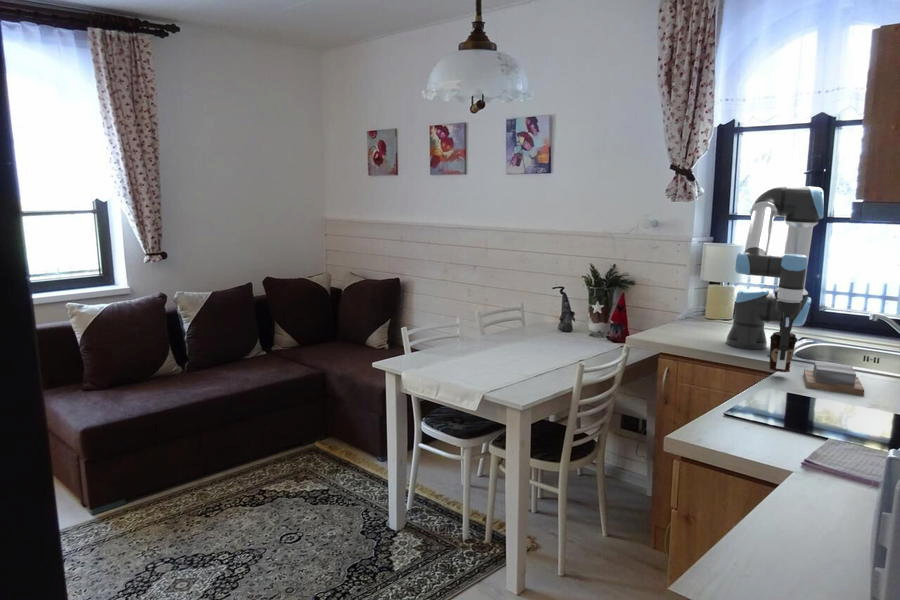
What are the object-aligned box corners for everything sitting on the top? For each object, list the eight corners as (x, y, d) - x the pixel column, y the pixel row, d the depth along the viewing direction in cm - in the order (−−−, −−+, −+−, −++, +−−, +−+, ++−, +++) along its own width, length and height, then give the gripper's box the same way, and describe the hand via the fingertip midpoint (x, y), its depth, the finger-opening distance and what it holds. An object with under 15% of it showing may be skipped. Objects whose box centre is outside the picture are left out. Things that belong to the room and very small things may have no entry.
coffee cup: (796, 375, 217) (802, 337, 215) (769, 373, 219) (775, 335, 216) (788, 367, 226) (793, 331, 223) (763, 365, 227) (768, 329, 224)
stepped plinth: (803, 374, 226) (805, 358, 225) (856, 382, 220) (859, 365, 218) (806, 387, 212) (809, 369, 211) (863, 396, 205) (866, 377, 204)
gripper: (776, 294, 228) (767, 356, 233) (777, 304, 210) (768, 371, 214) (800, 296, 225) (791, 359, 230) (803, 307, 207) (793, 375, 211)
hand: (780, 365), depth 222 cm, fingers closed on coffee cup, 8 cm apart
